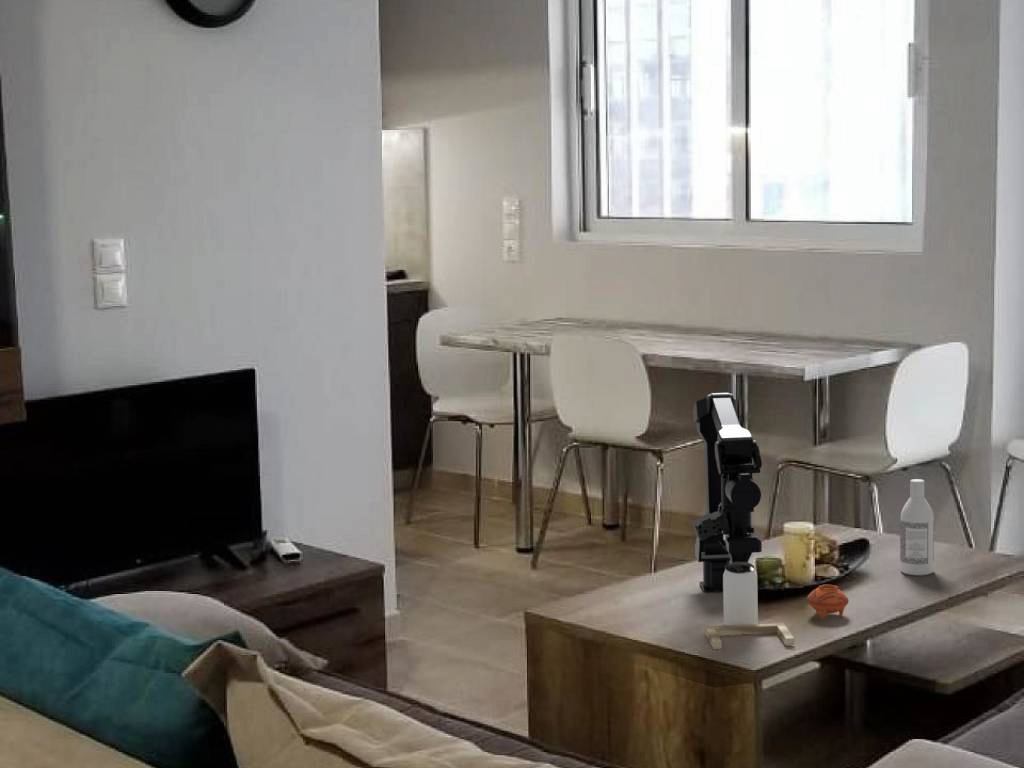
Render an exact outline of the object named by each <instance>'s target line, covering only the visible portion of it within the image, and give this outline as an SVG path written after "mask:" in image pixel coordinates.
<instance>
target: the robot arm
mask: <svg viewBox="0 0 1024 768" xmlns="http://www.w3.org/2000/svg"><path fill="white" fill-rule="evenodd" d="M737 408H738V407H737V400H736V399H735V398H734V394H733V393H730V392H715V393H714V392H711V393H710V394H707V395H706V397H703V398H702V399H698V400H696V401H695V403H694V405H693V407H692V409H693V410H692V418H693V423H694V424H695V425H696V426H695V428H696V431H697V433H698V434H699V436H700V437H701V439H702V440H703V442H704V467H705V468H704V469H705V499H706V502H705V505H706V512H705V514H704V515H703V516H701V517H698V518H696V519H694V520H691V524H692V527H693V529H694V532H695V534H696V539H695V544H694V552H695V553H694V554H695V555H694V557H695V559H696V560H697V562H698V563H702V578H703V579H702V581H699V586H700V587H701V589H702V591H703V592H704V593H707V592H709V593H710V592H723V574H724V571H725V566H726V565H727V564H729V563H733V562H747V563H749V561H750V558H751V557H752V554H753V553H755V554H756V553H761V552H763V547H762V541H761V540H760V538H759V537H758V536H757V535H756V534H755V527H754V526H753V520H752V517H753V516H752V513H754V511H755V510H754V508H756V507H757V506H758V505H759V503H760V501H761V498H762V492H761V488H760V487H759V485H758V484H757V483H756V482H754V480H753V474H760V473H761V468H762V465H763V461H762V456H761V453H760V446H759V445H758V444H757V440H754V437H753V436H752V434H751V432H750V430H748V429H746V428H744V427H742V426H741V424H740V420H739V418H738V409H737Z"/></svg>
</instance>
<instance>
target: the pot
mask: <svg viewBox="0 0 1024 768" xmlns="http://www.w3.org/2000/svg"><path fill="white" fill-rule="evenodd" d="M806 600H807V602H808V604H809V605H810V606H811V608H812V609H813V610H815V611H816V613H817V614H819V618H820V620H822V621H824V620H825V619H826V615H828V614H829V615H830V614H836V613H839V614H838V615H839V616H840V615H841V616H842V615H843V614H844V611H845V607H846V606H847V605H848V604H849V598H848V597H847V595H846V594H845V592H843V591H842V590H841V589H839V587H838V586H837V585H833V584H822V585H818V587H815V589H813V590H812V591H811V592H810V593H809V594H808V595H807V597H806Z"/></svg>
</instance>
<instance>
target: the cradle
mask: <svg viewBox="0 0 1024 768" xmlns="http://www.w3.org/2000/svg"><path fill="white" fill-rule="evenodd" d="M771 633H777V634H776V635H778V637H779V636H780V637H779V638H780V640H781V639H782V640H781V641H782V642H784V643H783V644H784V645H786V646H785V647H793V646H792V645H794V646H795V638H794V636H793V634H792V633H791V632H790V630H789V629H788V627H787V626H786V624H785V623H783V622H781V623H760V624H759V623H758V624H753V625H730V626H725V625H711V626H704V634H705V636H706V638H707V640H708V642H709V644H710V646H711V645H712V646H711V647H713V648H712V649H713V650H722V640H721V637H723V636H724V637H727V636H726V635H730V636H743V635H742V634H754V635H772V634H771ZM789 645H791V646H789Z"/></svg>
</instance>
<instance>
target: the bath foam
mask: <svg viewBox="0 0 1024 768" xmlns="http://www.w3.org/2000/svg"><path fill="white" fill-rule="evenodd" d="M909 486H910V487H909V489H910V491H909V493H910V494H909V495H910V497H909V498H908V499H907V501H906V503H905V504H904V505H903V508H902V510H901V512H900V525H899V527H900V534H899V535H900V536H899V537H900V539H899V541H900V542H899V544H900V546H899V549H900V550H899V551H900V553H899V556H900V557H899V558H900V559H899V561H900V563H899V565H900V566H899V568H900V571H901V573H903V574H905V575H910V576H928V575H930V574H932V573H933V572H934V568H935V567H934V566H935V565H934V563H935V561H934V560H935V557H934V556H935V554H934V553H935V516H934V511H933V509H932V507H931V505H930V503H929V502H928V500H927V499H926V498H925V480H924V479H919V478H916V479H915V478H914V479H910V483H909Z"/></svg>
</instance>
